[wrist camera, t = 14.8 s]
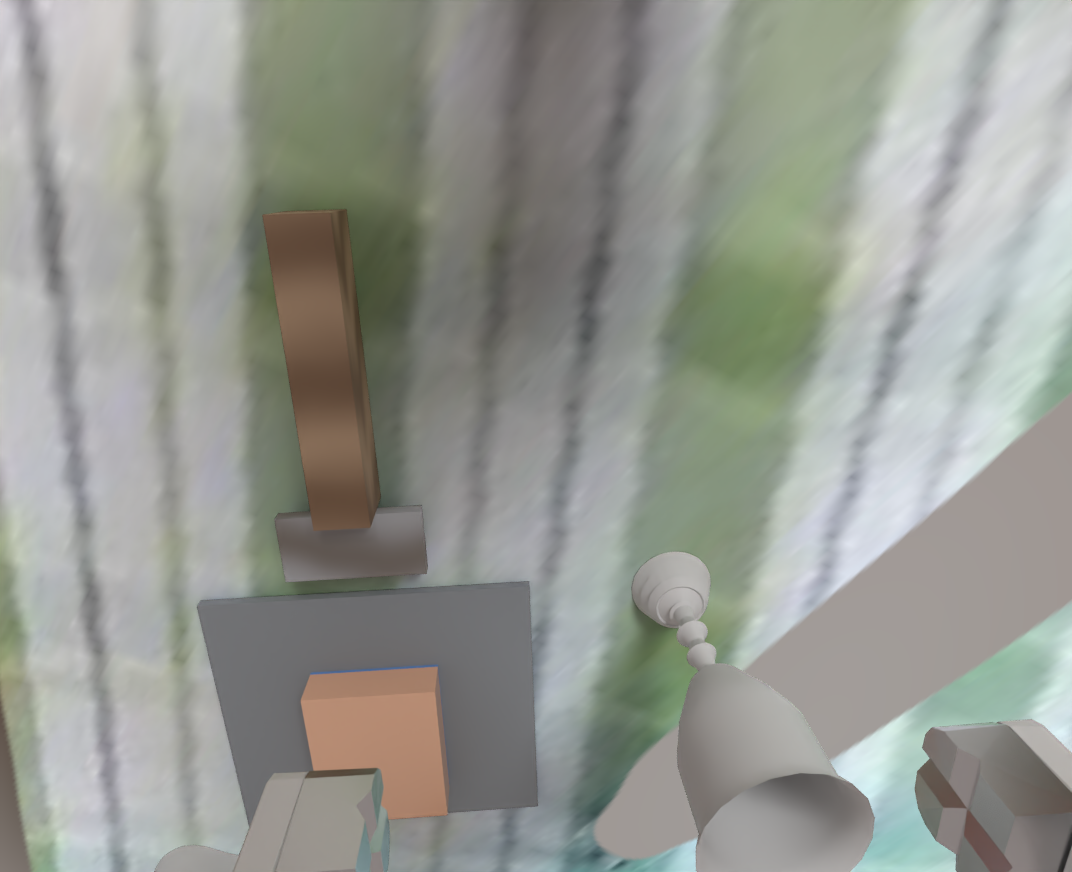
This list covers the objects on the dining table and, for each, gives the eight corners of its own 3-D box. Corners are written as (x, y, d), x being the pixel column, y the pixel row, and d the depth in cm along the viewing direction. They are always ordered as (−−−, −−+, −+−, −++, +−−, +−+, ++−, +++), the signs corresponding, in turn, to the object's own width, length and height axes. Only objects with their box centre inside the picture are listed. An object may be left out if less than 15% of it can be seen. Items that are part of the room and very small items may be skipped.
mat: (200, 600, 42) (196, 606, 41) (528, 581, 43) (529, 586, 42) (252, 819, 48) (249, 827, 47) (537, 798, 49) (537, 806, 48)
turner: (236, 212, 34) (205, 216, 31) (396, 207, 35) (385, 210, 31) (296, 560, 41) (277, 598, 38) (429, 552, 42) (424, 589, 38)
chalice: (674, 651, 45) (781, 931, 28) (593, 601, 43) (657, 867, 27) (749, 571, 43) (912, 820, 26) (668, 516, 42) (787, 744, 25)
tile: (300, 700, 41) (323, 824, 44) (434, 691, 41) (447, 815, 45) (310, 672, 43) (332, 792, 47) (438, 664, 44) (449, 783, 47)
